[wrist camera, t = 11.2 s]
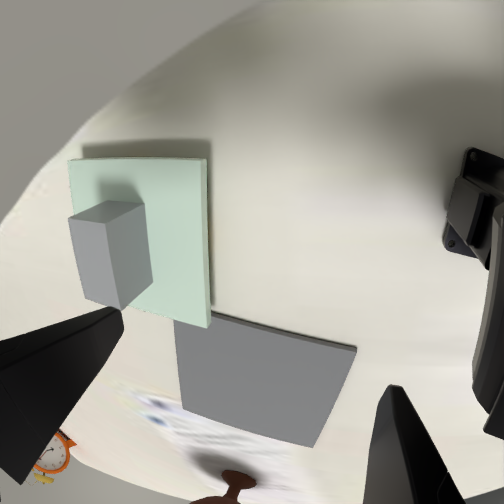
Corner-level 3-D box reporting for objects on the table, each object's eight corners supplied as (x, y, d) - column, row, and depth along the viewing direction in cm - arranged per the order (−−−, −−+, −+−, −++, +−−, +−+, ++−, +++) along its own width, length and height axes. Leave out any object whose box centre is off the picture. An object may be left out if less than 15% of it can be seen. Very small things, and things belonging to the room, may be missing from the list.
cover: (206, 158, 18) (162, 173, 14) (211, 322, 23) (181, 363, 19) (74, 158, 21) (28, 173, 17) (95, 289, 26) (61, 316, 22)
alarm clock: (81, 448, 61) (43, 496, 44) (77, 449, 64) (41, 494, 47) (45, 414, 60) (3, 460, 43) (43, 417, 63) (4, 460, 46)
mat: (357, 347, 22) (356, 352, 21) (313, 444, 29) (312, 447, 28) (175, 301, 25) (172, 304, 25) (184, 405, 32) (182, 408, 32)
